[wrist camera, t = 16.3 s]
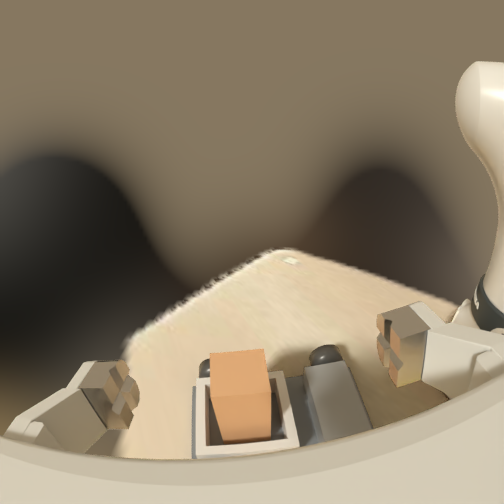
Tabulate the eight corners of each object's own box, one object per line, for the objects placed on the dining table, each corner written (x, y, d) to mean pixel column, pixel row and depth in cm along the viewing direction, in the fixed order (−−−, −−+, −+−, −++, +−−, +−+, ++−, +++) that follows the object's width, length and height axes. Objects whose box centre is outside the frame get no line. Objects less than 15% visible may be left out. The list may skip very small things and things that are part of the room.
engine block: (264, 403, 33) (263, 348, 28) (270, 440, 29) (271, 391, 24) (222, 407, 33) (209, 353, 28) (224, 444, 28) (210, 396, 23)
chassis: (343, 361, 39) (348, 341, 37) (382, 462, 25) (393, 448, 23) (194, 378, 38) (188, 359, 36) (194, 491, 24) (185, 481, 22)
